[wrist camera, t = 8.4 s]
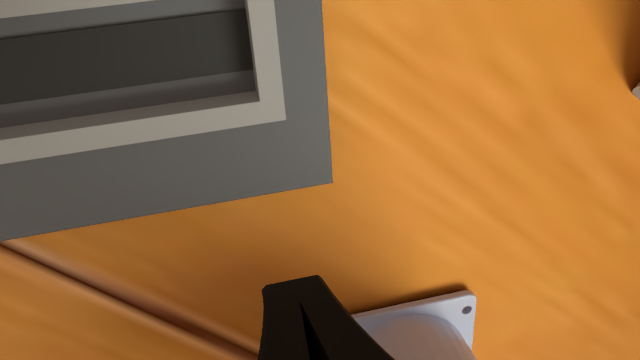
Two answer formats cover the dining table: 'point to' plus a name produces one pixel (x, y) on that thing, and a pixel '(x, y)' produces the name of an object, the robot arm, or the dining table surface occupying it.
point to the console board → (156, 107)
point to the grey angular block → (637, 91)
